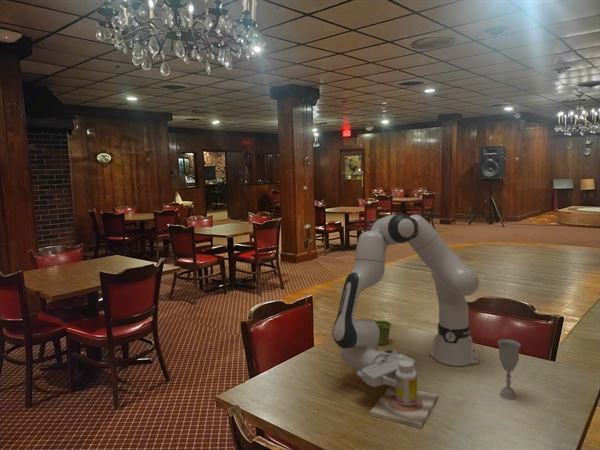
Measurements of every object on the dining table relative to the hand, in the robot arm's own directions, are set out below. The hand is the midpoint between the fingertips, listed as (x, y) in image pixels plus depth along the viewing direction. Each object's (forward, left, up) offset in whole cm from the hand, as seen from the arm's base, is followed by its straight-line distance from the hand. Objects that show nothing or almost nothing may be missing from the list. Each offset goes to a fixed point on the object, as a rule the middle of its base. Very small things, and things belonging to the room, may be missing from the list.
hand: (407, 379), depth 139 cm
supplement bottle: (-1, -1, -8) cm, 8 cm away
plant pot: (-48, -27, -10) cm, 56 cm away
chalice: (-22, +27, -10) cm, 37 cm away
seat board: (0, -1, -9) cm, 10 cm away
